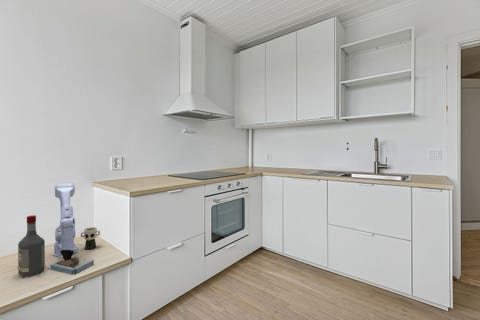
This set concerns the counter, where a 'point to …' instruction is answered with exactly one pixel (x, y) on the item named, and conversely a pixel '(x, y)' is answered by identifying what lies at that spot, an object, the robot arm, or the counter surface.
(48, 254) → the counter surface
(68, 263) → the walnut tee
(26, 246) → the liquor
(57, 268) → the slate fence
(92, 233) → the character mug
